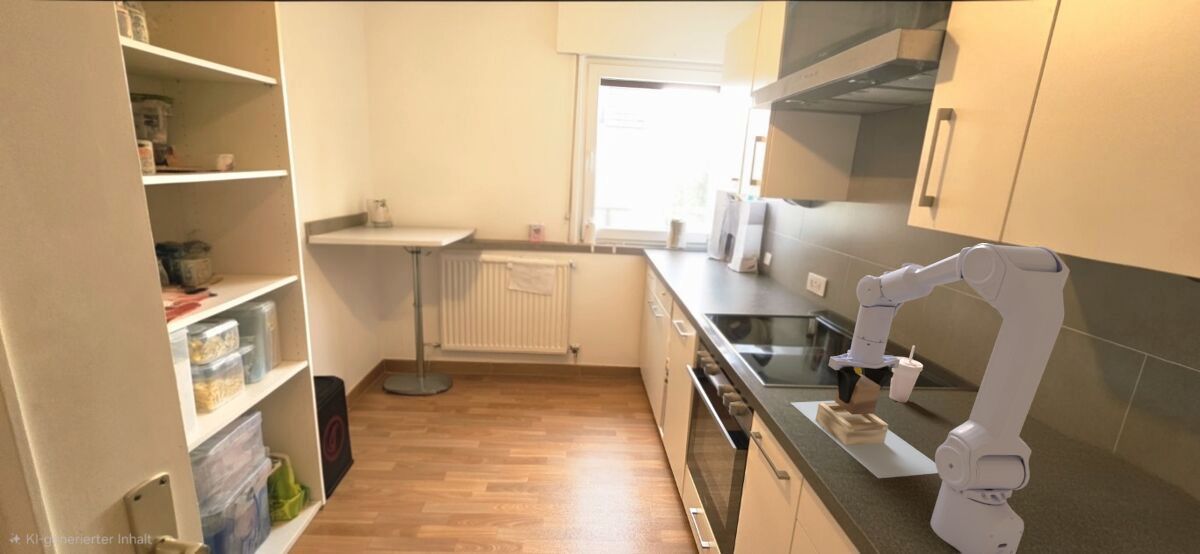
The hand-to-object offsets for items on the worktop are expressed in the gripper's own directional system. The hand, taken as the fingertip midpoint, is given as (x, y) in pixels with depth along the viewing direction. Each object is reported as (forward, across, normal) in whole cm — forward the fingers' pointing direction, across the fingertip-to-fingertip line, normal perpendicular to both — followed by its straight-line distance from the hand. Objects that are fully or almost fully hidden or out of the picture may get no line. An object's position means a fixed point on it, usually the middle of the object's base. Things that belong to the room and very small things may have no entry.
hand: (855, 400), depth 95 cm
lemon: (+8, -15, -19) cm, 25 cm away
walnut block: (+2, 0, 0) cm, 2 cm away
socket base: (+7, 0, 0) cm, 7 cm away
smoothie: (+8, -25, -13) cm, 29 cm away
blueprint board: (+8, -2, +1) cm, 8 cm away
